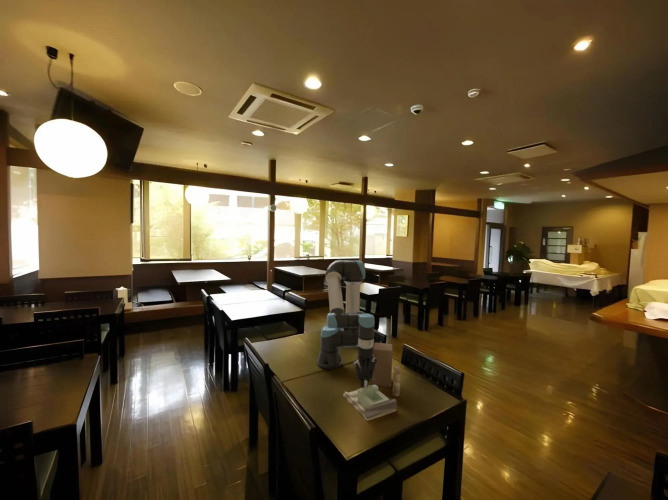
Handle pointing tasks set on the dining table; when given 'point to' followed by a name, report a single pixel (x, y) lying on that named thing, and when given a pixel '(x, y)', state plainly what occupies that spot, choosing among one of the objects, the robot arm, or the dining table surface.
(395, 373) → the dowel
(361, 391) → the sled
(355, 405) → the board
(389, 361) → the wooden block
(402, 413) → the dining table surface
